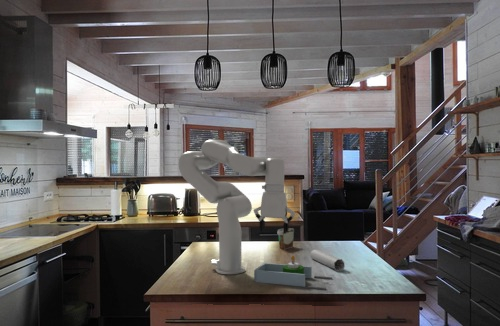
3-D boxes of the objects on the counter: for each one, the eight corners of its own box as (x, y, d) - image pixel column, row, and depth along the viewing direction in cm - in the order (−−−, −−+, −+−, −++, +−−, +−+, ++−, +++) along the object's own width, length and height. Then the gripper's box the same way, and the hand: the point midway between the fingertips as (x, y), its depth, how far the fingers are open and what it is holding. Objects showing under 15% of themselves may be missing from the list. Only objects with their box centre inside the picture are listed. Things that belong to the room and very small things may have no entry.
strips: (306, 288, 154) (306, 286, 154) (314, 277, 168) (314, 275, 168) (325, 289, 151) (325, 288, 151) (332, 278, 166) (332, 277, 166)
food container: (284, 245, 233) (284, 227, 233) (294, 246, 229) (294, 228, 229) (272, 249, 223) (272, 230, 223) (282, 250, 219) (282, 231, 219)
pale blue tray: (254, 281, 162) (254, 270, 162) (264, 273, 174) (264, 262, 174) (304, 286, 155) (304, 274, 155) (311, 277, 167) (311, 266, 167)
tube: (306, 250, 201) (332, 261, 177) (316, 246, 202) (342, 257, 178) (310, 261, 201) (335, 273, 177) (319, 256, 203) (346, 268, 179)
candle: (308, 280, 163) (308, 255, 163) (294, 285, 157) (294, 258, 157) (291, 276, 169) (291, 252, 169) (278, 281, 163) (278, 255, 163)
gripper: (251, 188, 166) (250, 231, 166) (293, 190, 159) (292, 235, 160) (257, 187, 173) (256, 228, 173) (298, 189, 166) (297, 231, 167)
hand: (273, 231), depth 166 cm, fingers open, 9 cm apart
